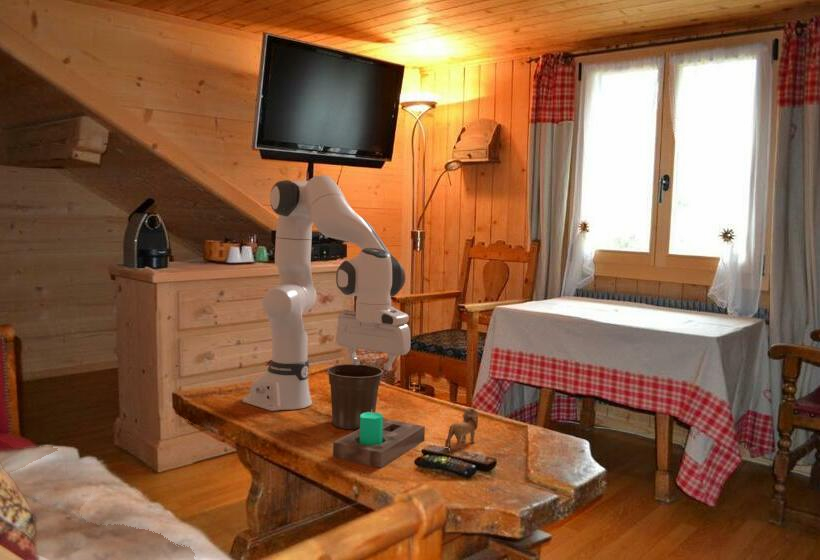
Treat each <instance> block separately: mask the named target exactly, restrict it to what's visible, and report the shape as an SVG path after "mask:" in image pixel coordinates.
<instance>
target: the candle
mask: <svg viewBox="0 0 820 560" xmlns="http://www.w3.org/2000/svg"><path fill="white" fill-rule="evenodd" d="M383 418H384V416H383V414H382V413H381V412H375V413H372V412H366V413H363V414H361V415H360V428H359V429H360V444H364V445H379V444H382V439H383Z"/></svg>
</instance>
